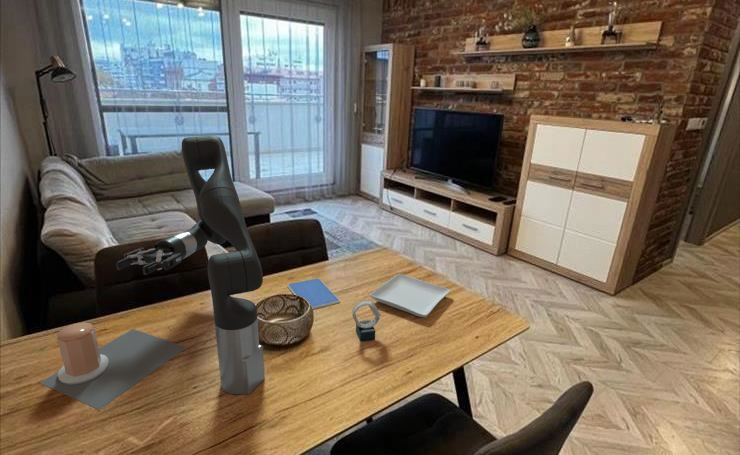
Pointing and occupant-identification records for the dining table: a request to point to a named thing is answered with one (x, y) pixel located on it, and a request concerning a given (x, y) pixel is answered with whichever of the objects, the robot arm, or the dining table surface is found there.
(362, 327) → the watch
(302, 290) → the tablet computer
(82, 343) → the domed octagonal post
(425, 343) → the dining table surface
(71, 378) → the saucer
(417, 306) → the salad plate
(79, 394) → the rubber mat
